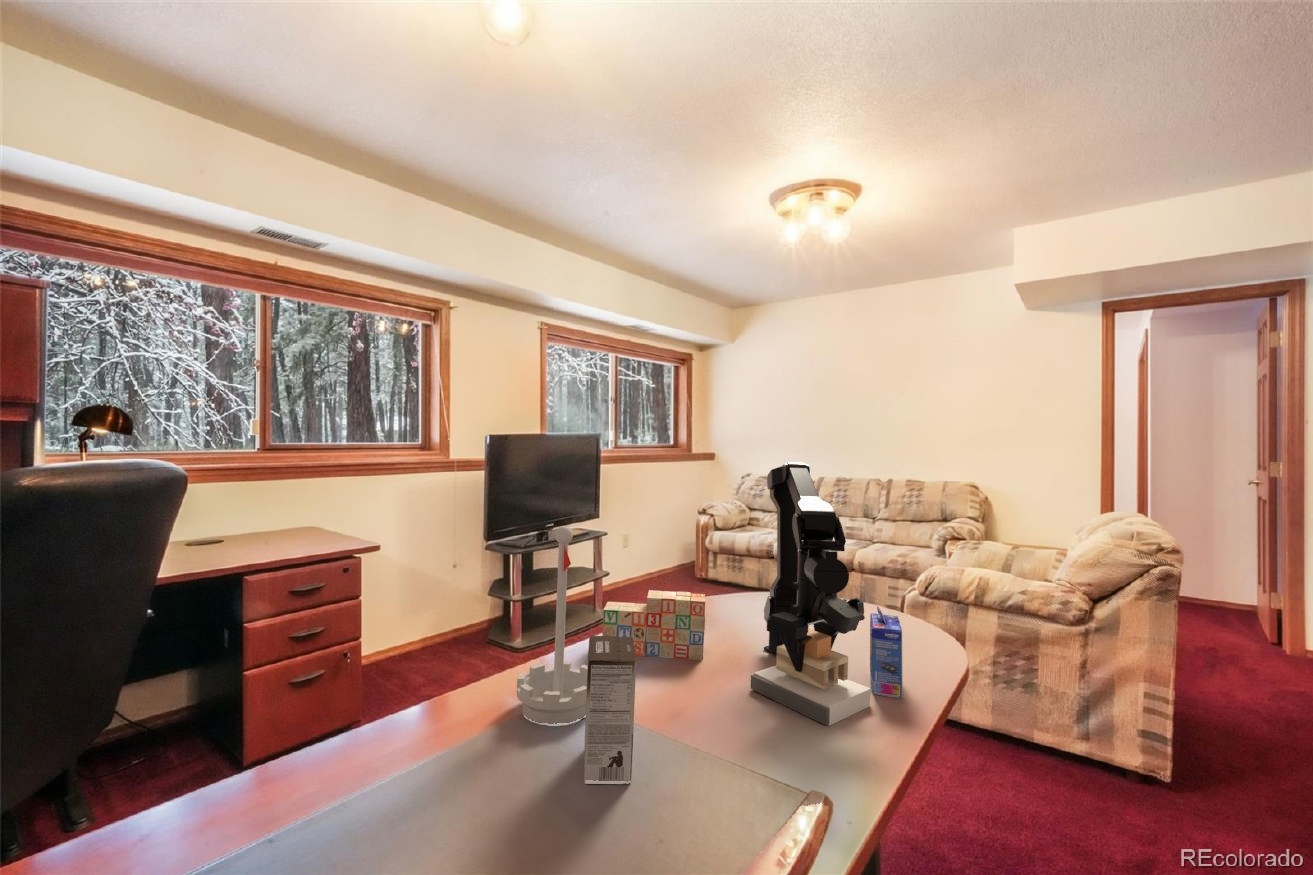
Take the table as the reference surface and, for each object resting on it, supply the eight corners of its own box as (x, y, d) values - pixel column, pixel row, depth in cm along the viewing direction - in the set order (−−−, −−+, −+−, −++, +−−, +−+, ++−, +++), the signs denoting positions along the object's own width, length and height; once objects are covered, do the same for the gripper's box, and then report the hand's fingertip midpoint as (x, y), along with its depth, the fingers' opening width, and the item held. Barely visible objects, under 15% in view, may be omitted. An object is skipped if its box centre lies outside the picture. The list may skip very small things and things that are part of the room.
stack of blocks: (600, 654, 116) (603, 594, 116) (605, 643, 122) (607, 587, 123) (703, 660, 115) (705, 600, 115) (703, 649, 121) (705, 592, 121)
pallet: (800, 660, 105) (801, 639, 105) (847, 679, 97) (848, 656, 97) (776, 668, 101) (776, 646, 101) (823, 689, 93) (824, 665, 93)
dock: (794, 674, 109) (795, 658, 109) (870, 706, 96) (870, 688, 96) (750, 690, 101) (750, 673, 101) (826, 727, 88) (826, 708, 88)
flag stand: (510, 698, 95) (517, 521, 95) (584, 687, 100) (590, 519, 100) (523, 736, 83) (531, 533, 83) (607, 721, 88) (614, 531, 88)
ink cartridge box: (868, 673, 110) (870, 600, 111) (898, 678, 109) (900, 604, 109) (869, 694, 101) (872, 614, 101) (902, 699, 99) (905, 618, 100)
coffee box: (585, 747, 80) (589, 634, 80) (629, 747, 81) (633, 635, 81) (581, 786, 71) (586, 659, 71) (632, 785, 72) (637, 659, 72)
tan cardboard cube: (807, 644, 102) (807, 628, 102) (830, 653, 98) (831, 636, 98) (793, 649, 100) (793, 632, 100) (817, 658, 96) (817, 640, 96)
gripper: (821, 597, 87) (817, 697, 87) (884, 582, 99) (881, 670, 99) (765, 581, 96) (762, 672, 96) (829, 569, 107) (827, 650, 107)
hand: (811, 666), depth 99 cm, fingers closed on pallet, 7 cm apart
